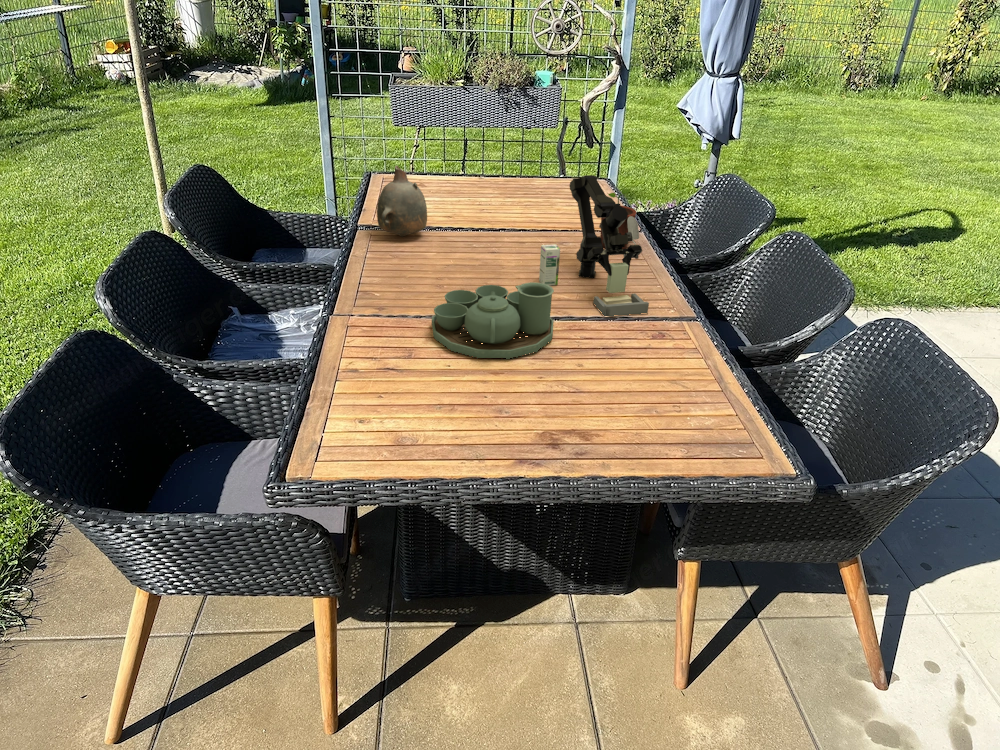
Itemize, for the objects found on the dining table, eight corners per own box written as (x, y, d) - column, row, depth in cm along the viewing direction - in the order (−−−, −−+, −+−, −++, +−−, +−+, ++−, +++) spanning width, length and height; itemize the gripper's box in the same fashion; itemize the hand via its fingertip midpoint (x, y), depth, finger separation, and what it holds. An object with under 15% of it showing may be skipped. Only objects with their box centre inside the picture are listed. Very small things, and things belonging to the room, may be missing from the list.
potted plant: (633, 241, 309) (641, 185, 297) (638, 259, 290) (647, 199, 278) (593, 239, 310) (599, 183, 297) (596, 256, 291) (602, 197, 279)
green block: (605, 289, 249) (609, 263, 244) (621, 288, 250) (625, 262, 245) (609, 293, 247) (612, 266, 241) (624, 291, 248) (628, 265, 243)
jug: (424, 246, 294) (422, 175, 279) (373, 244, 294) (369, 172, 279) (430, 228, 315) (429, 160, 300) (383, 226, 315) (379, 158, 300)
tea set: (522, 300, 250) (524, 257, 242) (574, 350, 219) (578, 302, 210) (415, 315, 237) (414, 269, 228) (454, 370, 205) (454, 320, 197)
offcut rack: (592, 303, 249) (593, 293, 247) (633, 300, 253) (635, 290, 251) (604, 317, 240) (606, 306, 238) (647, 313, 244) (648, 303, 242)
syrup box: (543, 286, 261) (546, 249, 254) (538, 280, 266) (541, 244, 259) (557, 285, 263) (560, 248, 256) (552, 279, 268) (555, 243, 260)
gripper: (594, 225, 238) (602, 267, 234) (644, 222, 242) (653, 264, 239) (583, 239, 248) (591, 280, 245) (631, 236, 253) (640, 276, 249)
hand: (619, 275), depth 244 cm, fingers closed on green block, 6 cm apart
